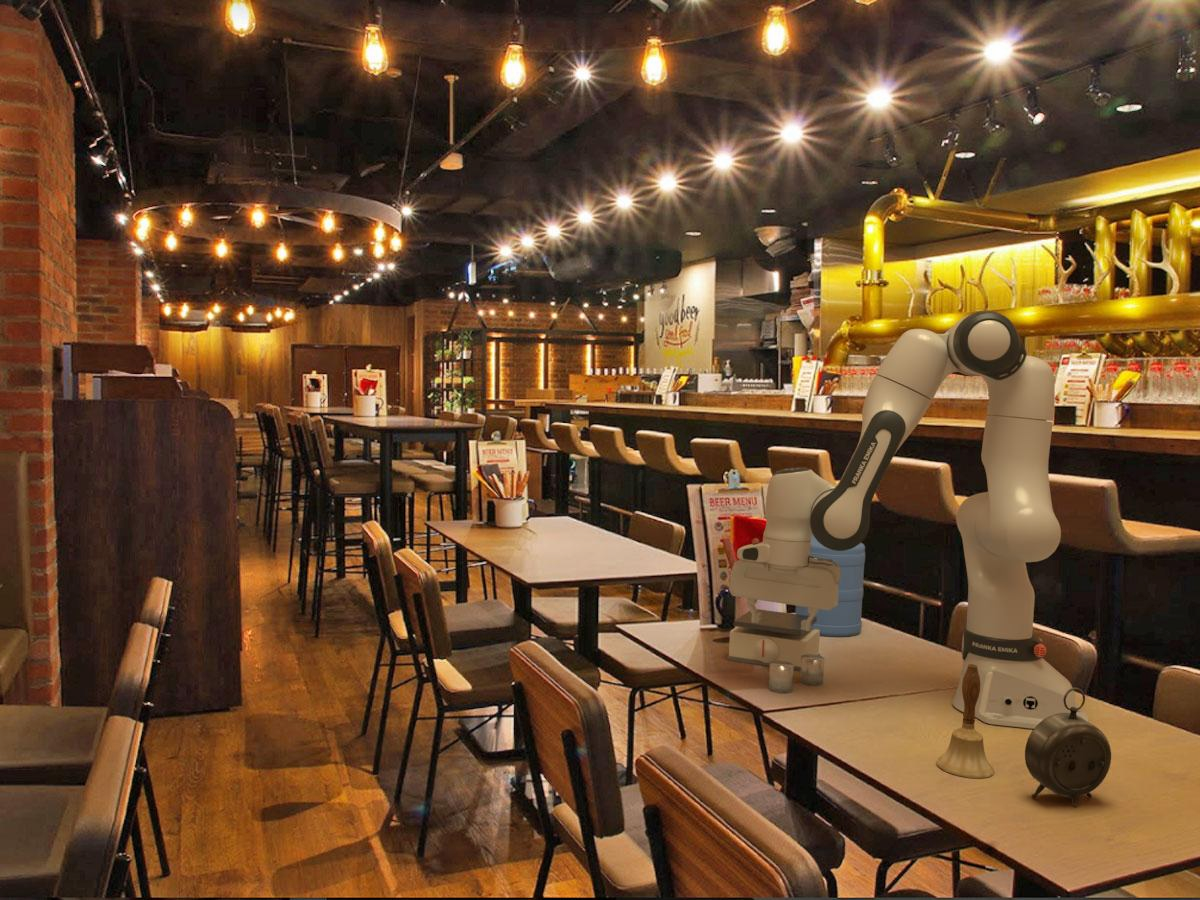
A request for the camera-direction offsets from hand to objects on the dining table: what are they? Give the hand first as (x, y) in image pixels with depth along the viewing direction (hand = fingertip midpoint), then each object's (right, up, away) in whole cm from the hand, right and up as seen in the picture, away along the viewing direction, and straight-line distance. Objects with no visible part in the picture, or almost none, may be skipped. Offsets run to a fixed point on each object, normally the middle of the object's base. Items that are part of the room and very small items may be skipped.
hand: (780, 626), depth 187 cm
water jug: (+20, -10, +51) cm, 56 cm away
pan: (+3, -4, +22) cm, 23 cm away
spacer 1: (0, -12, +1) cm, 12 cm away
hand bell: (+22, -15, -36) cm, 45 cm away
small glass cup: (+7, -12, +6) cm, 15 cm away
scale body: (+3, -11, +23) cm, 25 cm away
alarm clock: (+32, -16, -47) cm, 59 cm away
